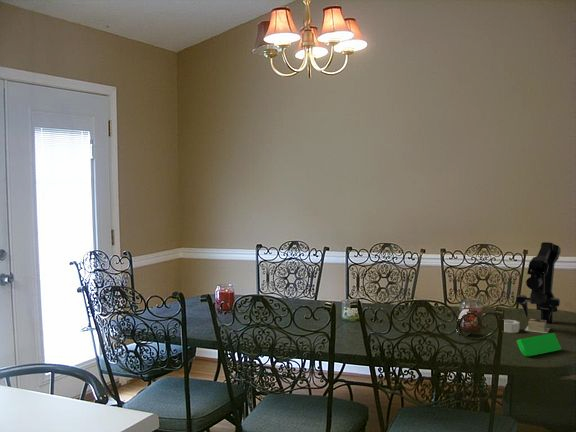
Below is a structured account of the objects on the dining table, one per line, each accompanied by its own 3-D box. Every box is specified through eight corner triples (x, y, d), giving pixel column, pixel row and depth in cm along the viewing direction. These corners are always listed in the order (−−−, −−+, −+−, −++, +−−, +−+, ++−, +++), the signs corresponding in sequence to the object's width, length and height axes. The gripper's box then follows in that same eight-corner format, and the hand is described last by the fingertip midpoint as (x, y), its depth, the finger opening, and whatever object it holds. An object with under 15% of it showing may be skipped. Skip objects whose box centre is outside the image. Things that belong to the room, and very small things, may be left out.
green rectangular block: (544, 356, 246) (537, 339, 249) (561, 349, 238) (554, 332, 241) (510, 362, 237) (504, 345, 240) (527, 356, 229) (520, 338, 232)
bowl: (502, 328, 276) (502, 319, 276) (520, 330, 272) (520, 321, 272) (499, 332, 269) (499, 322, 269) (517, 334, 265) (517, 324, 265)
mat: (527, 326, 279) (527, 325, 279) (550, 329, 274) (550, 328, 274) (524, 331, 270) (524, 330, 270) (547, 334, 265) (547, 333, 265)
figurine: (474, 337, 261) (474, 311, 261) (457, 336, 263) (457, 310, 262) (472, 332, 268) (472, 307, 268) (455, 332, 270) (456, 307, 269)
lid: (530, 326, 277) (530, 317, 276) (546, 328, 273) (546, 318, 273) (528, 330, 271) (528, 320, 270) (544, 332, 267) (544, 321, 267)
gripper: (514, 287, 269) (513, 319, 270) (557, 290, 259) (557, 324, 260) (518, 283, 278) (517, 314, 279) (560, 286, 269) (559, 319, 270)
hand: (537, 318), depth 272 cm, fingers open, 9 cm apart
